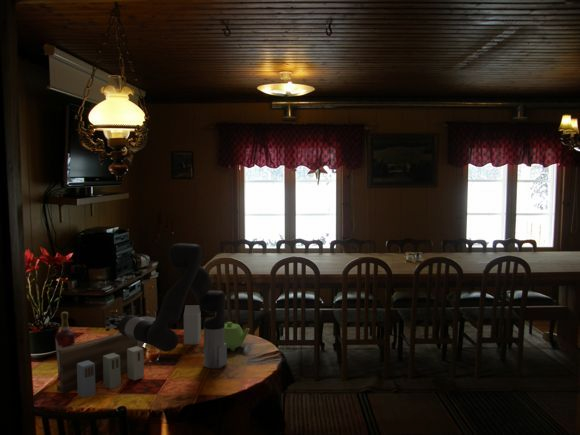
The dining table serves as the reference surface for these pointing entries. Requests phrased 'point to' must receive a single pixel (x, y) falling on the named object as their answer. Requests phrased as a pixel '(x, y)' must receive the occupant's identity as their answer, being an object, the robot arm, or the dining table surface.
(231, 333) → the teapot
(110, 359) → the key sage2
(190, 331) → the milk carton
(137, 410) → the dining table surface
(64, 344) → the liquor
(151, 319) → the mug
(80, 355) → the backboard
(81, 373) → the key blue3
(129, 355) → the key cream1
